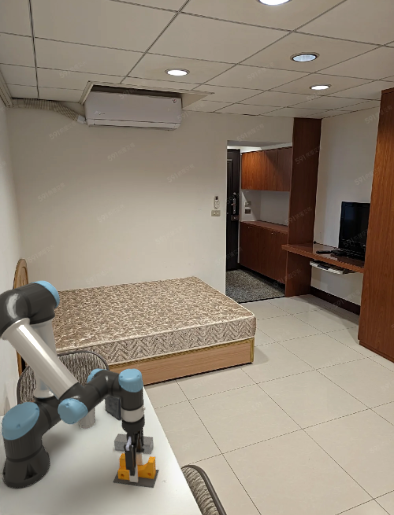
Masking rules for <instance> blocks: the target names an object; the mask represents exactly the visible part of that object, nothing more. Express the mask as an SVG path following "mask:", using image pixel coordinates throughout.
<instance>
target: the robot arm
mask: <svg viewBox="0 0 394 515" xmlns="http://www.w3.org/2000/svg"><path fill="white" fill-rule="evenodd" d="M60 302H61V299H60V295H59V292H58V290H57V288H56V287H55V286H54V285H53V284H52V283H50V282H48V281H46V280H37V281H33V282H29V283H27V284H24V285H21V286H18V287H16V288H12V289H8V290H6V291H3V292H2V293H0V339H1V340H2V341H7V342H8V343H9V344H10V345H11V346H12V347H13V349H14V350H15V351H16V352H17V353H18V354H19V355H20V357H21V358H22V359H23V361H24V362H25V363H26V364H27V365H28V367H30V369H31V370H32V371H33V373H34V379H35V385H36V387H35V389H34V390H33V391H32V394H33V399H34V400H33V401H25V402H22V403H21V404H20V403H18V404H16V405H14V406H13V407H11V408H10V409H9V410H7V411H6V413H5V414H4V415H3V417H2V420H1V435H2V440H3V448H4V453H5V460H4V464H3V468H2V480H3V483H4V485H5V486H7V487H8V488H11V489H23V488H27V487H30V486H32V485H34V484H36V483H37V482H39V481H40V480H42V479H43V478H44V477H45V476H46V475H47V474H48V472H49V470H50V467H51V456H50V454H49V453H48V451H47V450H46V447H45V446H44V443H43V436H44V435H45V434H46V433H47V432H48V431H50V430H51V429H52V428H53V427H55V425H57V424H58V423H59V422H61V421H63V423H65V424H67V425H75V424H77V423H79V420H81V419H82V418H83V417H85V416H86V415H87V414H88V413H89V412H90V411H91V410H92V409H93V408H95V409H96V407H97V406H98V405H99V404H101V403H102V402H103V401H105V398H106V397H107V396H111V397H114V398H119V399H120V404H121V417H122V419H121V428H122V430H123V431H124V432H125V434H127V435H126V438H127V445H126V444H124V451H123V452H124V453H125V462H126V470H129V477H130V482H137V483H138V468H137V465H144V462H143V453H141V452H144V449H143V448H142V446H144V436H145V435H144V427H145V425H146V424H145V423H146V419H145V410H146V407H145V403H144V400H145V399H144V381H143V375H142V372H141V371H140V370H139V369H137V368H126V369H124V370H122V371H121V372H120V373H119V372H116V371H111V370H108V369H103V368H95V369H93V370H91V371H90V374H89V375H88V377H87V379H86V383H85V384H84V385H82V384H81V383H80V381H79V380H78V379H77V378H76V377H75V376H74V375H73V373H71V371H70V370H69V369H68V367H67V366H66V365H65V364H64V363H63V362H62V360H61V359H60V358H59V357H58V352H57V348H56V347H57V345H56V339H55V334H54V328H53V320H54V319H55V318H56V312H55V309H56V310H57V308H58V307H59V305H60Z"/></svg>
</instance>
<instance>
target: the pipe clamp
mask: <svg viewBox="0 0 394 515" xmlns="http://www.w3.org/2000/svg"><path fill="white" fill-rule="evenodd" d="M118 461H119V463H118V464H119V467H118V469H117V472H118V479H124V480H130V477H129V470H126V462H125V452H122V453H121V454H120V456H119V459H118ZM156 467H157V466H156V456H151V455H150V456H149V457H148V460H147V462H145V463H143V465H137V468H138V477H143V478H151V479H154V477H155V474H156V470H157V468H156Z"/></svg>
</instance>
